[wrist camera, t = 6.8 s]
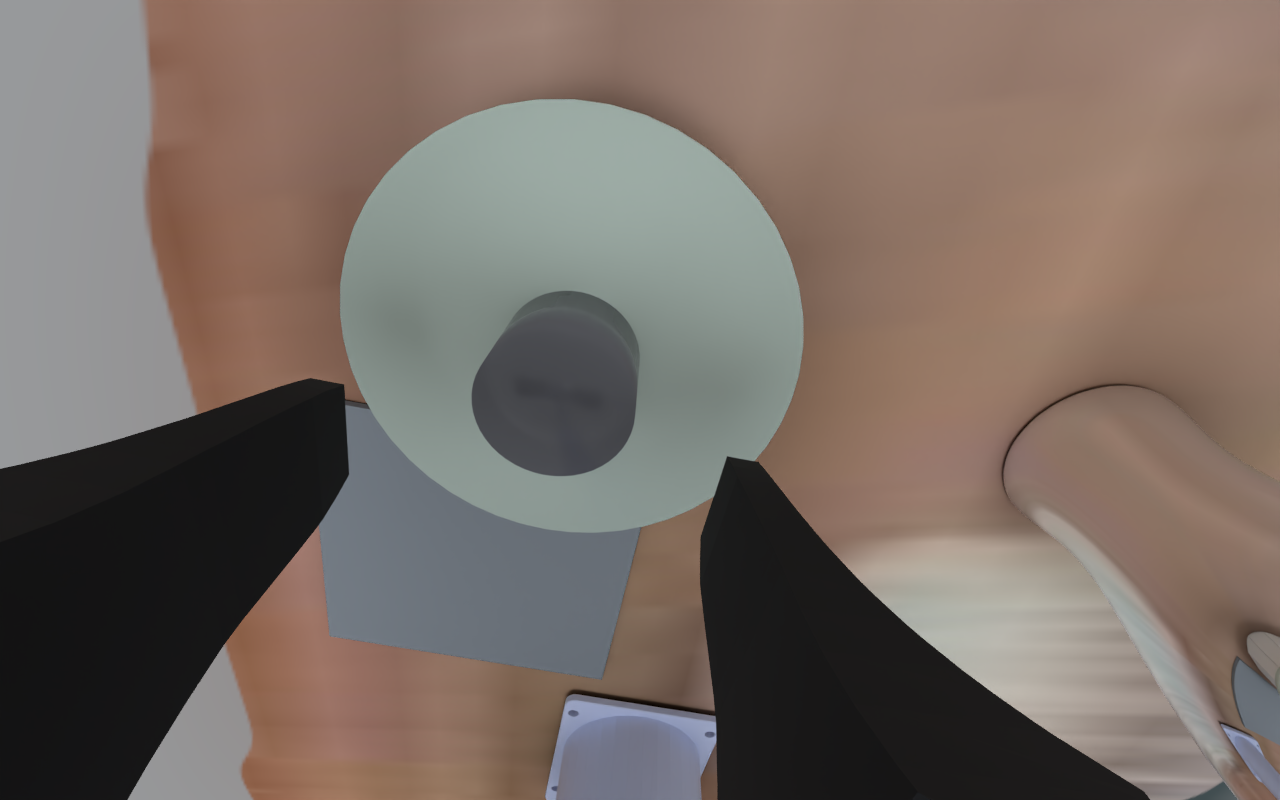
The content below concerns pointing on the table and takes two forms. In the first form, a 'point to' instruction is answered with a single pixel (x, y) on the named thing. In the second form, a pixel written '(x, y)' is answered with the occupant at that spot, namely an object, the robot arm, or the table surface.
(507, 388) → the lid
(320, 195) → the table surface
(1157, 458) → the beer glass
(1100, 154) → the table surface
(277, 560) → the robot arm
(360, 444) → the mat
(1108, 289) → the table surface
